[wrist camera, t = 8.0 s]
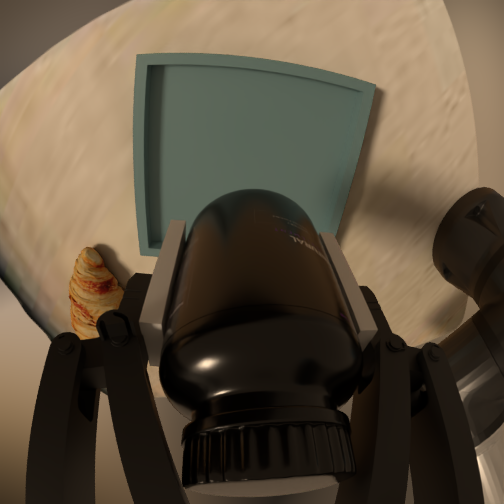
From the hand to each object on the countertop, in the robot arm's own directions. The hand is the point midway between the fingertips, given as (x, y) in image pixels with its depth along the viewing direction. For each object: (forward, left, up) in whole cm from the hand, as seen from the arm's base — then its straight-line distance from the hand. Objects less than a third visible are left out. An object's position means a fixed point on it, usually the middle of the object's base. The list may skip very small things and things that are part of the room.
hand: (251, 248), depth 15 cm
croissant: (+17, +21, -14) cm, 30 cm away
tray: (0, 0, -14) cm, 14 cm away
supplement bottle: (0, 0, -1) cm, 1 cm away
